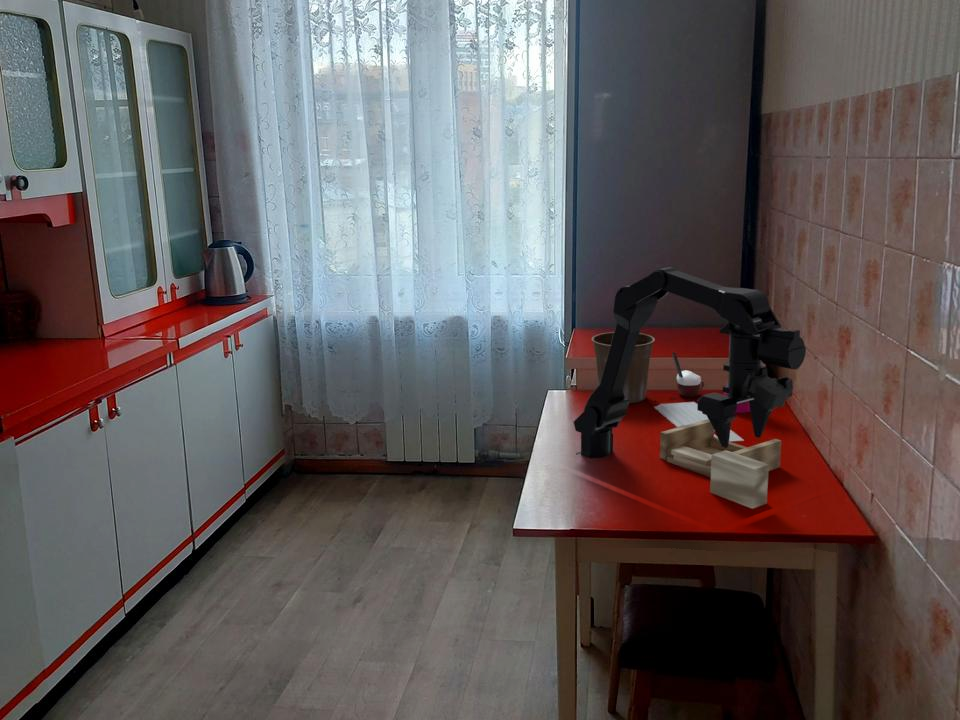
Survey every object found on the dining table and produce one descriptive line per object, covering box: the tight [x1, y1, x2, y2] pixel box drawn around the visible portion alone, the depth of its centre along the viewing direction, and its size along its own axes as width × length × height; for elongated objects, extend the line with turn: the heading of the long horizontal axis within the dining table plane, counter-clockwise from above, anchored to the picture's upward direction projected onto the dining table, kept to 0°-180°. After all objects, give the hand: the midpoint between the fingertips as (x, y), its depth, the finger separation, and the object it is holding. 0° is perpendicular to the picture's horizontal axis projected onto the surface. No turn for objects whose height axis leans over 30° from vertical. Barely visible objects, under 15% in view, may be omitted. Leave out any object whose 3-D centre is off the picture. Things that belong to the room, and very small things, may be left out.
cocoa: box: [671, 351, 705, 398], centre depth 243 cm, size 10×6×12 cm, turn 86°
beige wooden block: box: [709, 450, 770, 510], centre depth 172 cm, size 4×10×8 cm, turn 35°
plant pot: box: [591, 331, 656, 404], centre depth 241 cm, size 16×16×16 cm
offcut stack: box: [666, 446, 712, 478], centre depth 188 cm, size 4×14×3 cm, turn 35°
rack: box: [659, 419, 782, 472], centre depth 191 cm, size 15×19×6 cm
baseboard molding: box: [649, 397, 745, 442], centre depth 219 cm, size 31×3×12 cm
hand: (741, 442), depth 171 cm, fingers open, 9 cm apart
